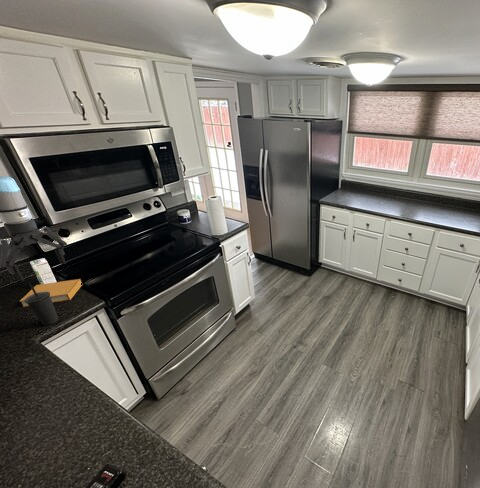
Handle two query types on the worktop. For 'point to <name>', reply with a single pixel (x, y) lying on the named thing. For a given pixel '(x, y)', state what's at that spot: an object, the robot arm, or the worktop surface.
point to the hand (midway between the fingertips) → (43, 271)
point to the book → (57, 290)
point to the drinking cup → (42, 306)
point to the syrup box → (43, 271)
